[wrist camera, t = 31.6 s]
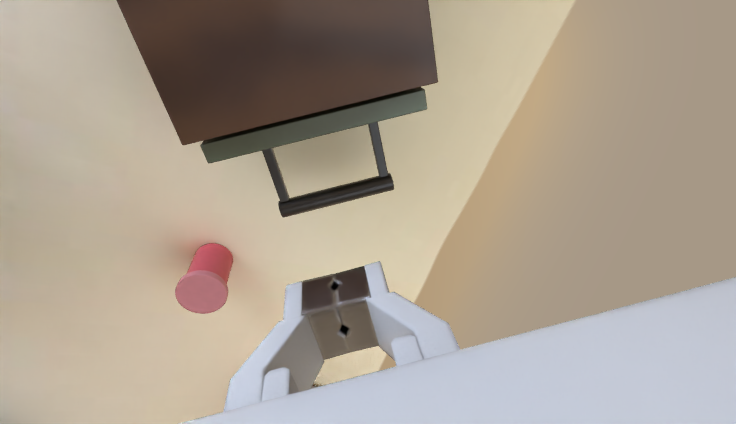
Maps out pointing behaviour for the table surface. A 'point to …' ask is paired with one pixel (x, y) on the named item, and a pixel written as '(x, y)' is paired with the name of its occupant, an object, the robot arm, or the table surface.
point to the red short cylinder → (206, 280)
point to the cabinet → (277, 57)
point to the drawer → (314, 127)
